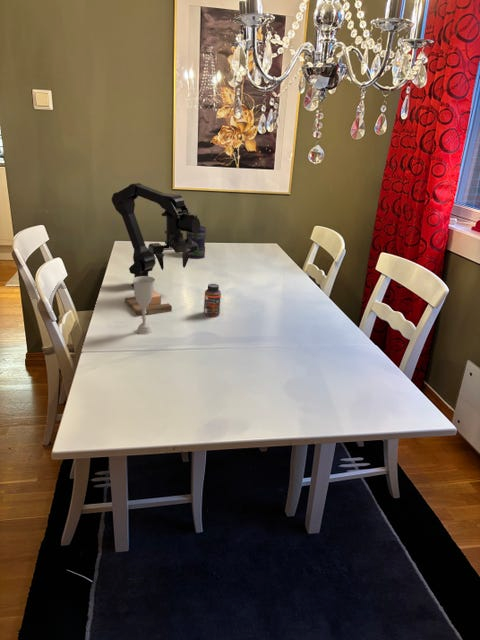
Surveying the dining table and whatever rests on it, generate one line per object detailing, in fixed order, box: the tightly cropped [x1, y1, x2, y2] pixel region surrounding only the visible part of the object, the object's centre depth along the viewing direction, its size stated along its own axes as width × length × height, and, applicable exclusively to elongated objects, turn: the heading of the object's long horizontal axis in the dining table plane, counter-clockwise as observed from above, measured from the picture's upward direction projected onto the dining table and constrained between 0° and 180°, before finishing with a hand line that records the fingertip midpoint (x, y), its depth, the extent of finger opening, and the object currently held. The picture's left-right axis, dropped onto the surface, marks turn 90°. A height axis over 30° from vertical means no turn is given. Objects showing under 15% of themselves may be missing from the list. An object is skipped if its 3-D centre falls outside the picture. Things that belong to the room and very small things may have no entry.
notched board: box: [124, 296, 173, 317], centre depth 182 cm, size 14×13×2 cm
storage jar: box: [185, 225, 207, 260], centre depth 249 cm, size 10×10×15 cm
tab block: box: [148, 290, 162, 306], centre depth 182 cm, size 6×4×5 cm, turn 30°
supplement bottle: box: [203, 283, 222, 318], centre depth 178 cm, size 6×6×11 cm
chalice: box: [132, 275, 156, 335], centre depth 159 cm, size 7×7×18 cm
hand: (173, 268), depth 192 cm, fingers open, 9 cm apart
